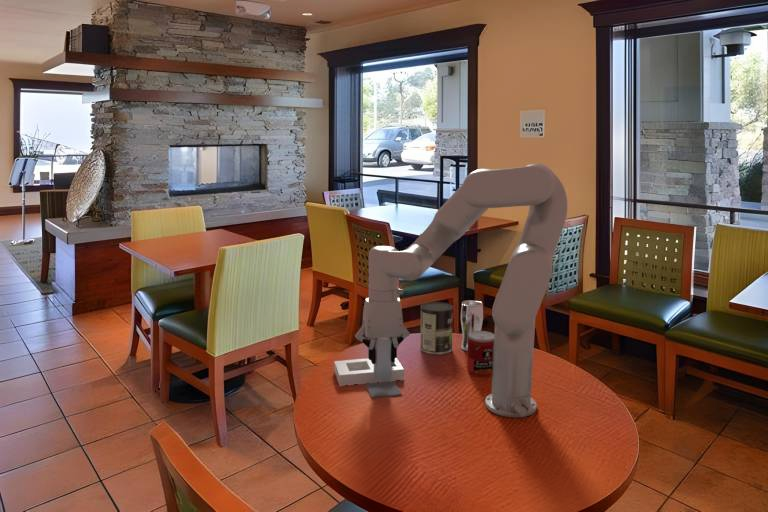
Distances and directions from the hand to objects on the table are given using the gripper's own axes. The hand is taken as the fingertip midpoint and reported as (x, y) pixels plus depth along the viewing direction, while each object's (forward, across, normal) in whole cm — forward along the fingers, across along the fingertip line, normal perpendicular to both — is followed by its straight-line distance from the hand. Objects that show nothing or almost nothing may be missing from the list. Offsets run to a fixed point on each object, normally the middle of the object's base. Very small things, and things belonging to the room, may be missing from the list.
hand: (382, 360), depth 149 cm
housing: (+8, +2, -10) cm, 13 cm away
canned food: (+8, -30, -6) cm, 32 cm away
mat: (+8, 0, 0) cm, 8 cm away
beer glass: (+8, -34, -24) cm, 43 cm away
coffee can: (+8, -23, -26) cm, 36 cm away
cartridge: (+5, 0, 0) cm, 5 cm away
